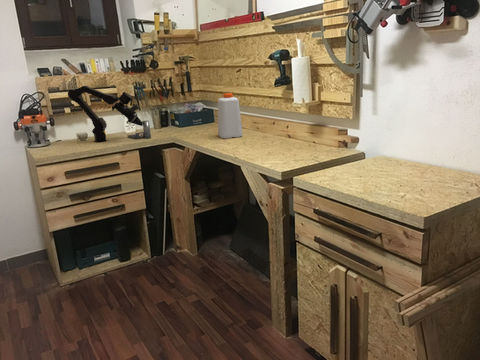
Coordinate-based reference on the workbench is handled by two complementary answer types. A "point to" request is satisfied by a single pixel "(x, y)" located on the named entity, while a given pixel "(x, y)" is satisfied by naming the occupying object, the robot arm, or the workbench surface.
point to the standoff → (146, 129)
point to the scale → (137, 135)
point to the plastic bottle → (229, 117)
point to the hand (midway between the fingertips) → (142, 124)
